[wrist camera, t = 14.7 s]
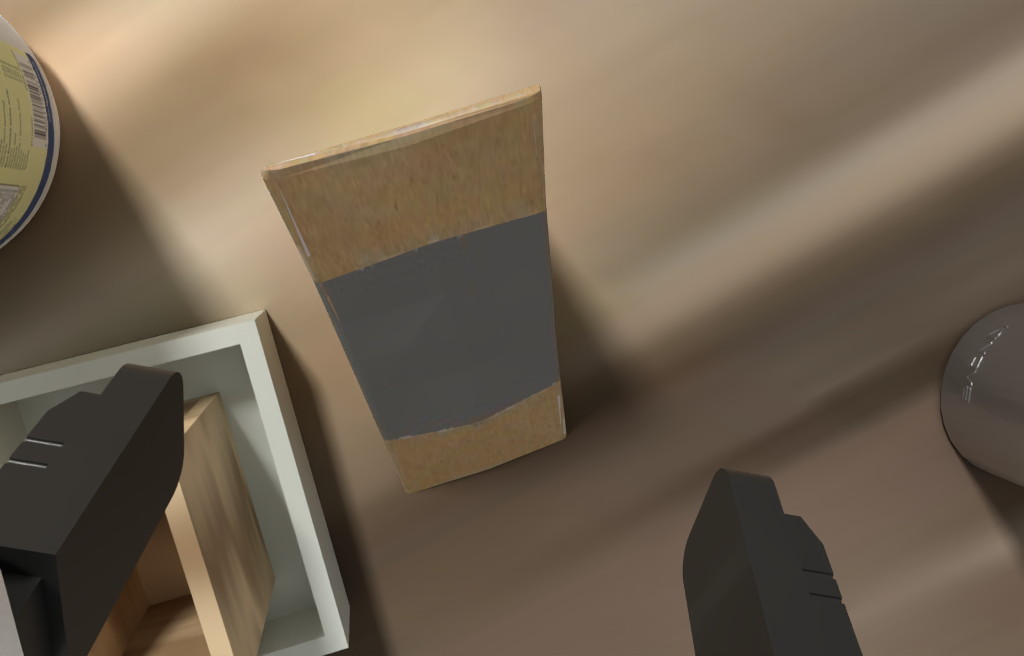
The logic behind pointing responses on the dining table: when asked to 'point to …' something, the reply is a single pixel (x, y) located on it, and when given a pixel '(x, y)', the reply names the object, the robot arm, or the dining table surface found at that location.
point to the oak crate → (198, 558)
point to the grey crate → (260, 446)
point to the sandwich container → (438, 281)
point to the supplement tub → (24, 134)
